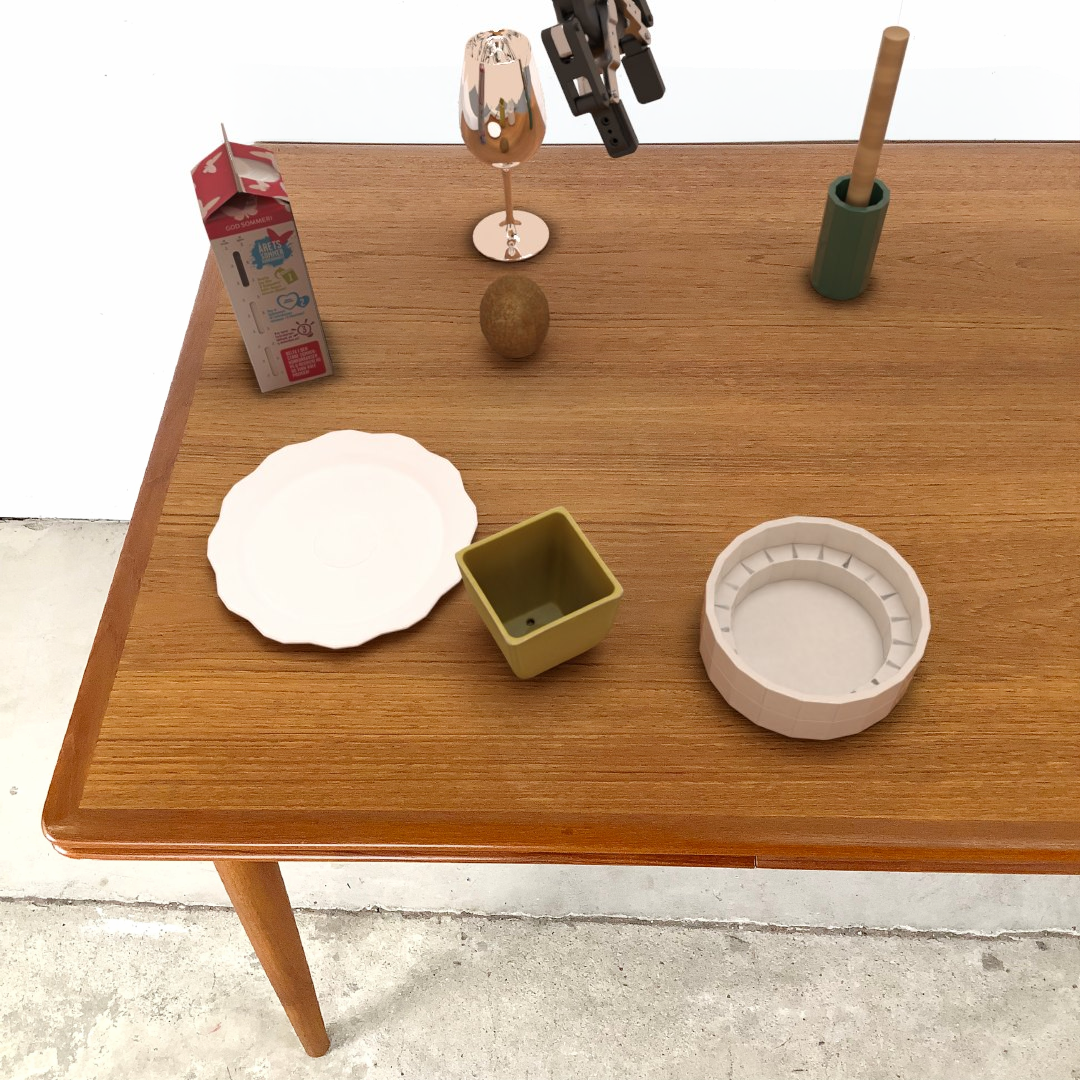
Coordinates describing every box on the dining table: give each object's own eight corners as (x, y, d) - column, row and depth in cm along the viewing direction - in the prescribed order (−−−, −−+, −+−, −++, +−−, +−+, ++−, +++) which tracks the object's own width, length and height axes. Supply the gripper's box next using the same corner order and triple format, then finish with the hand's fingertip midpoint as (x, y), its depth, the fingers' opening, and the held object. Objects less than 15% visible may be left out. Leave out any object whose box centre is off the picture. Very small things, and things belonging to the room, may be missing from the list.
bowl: (777, 530, 89) (788, 482, 84) (949, 639, 82) (972, 594, 77) (657, 657, 82) (661, 613, 77) (833, 785, 76) (849, 747, 71)
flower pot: (565, 572, 87) (563, 501, 80) (623, 658, 82) (626, 591, 75) (463, 620, 85) (451, 552, 77) (517, 711, 80) (509, 647, 73)
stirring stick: (830, 266, 106) (884, 22, 86) (851, 269, 105) (911, 24, 86) (827, 284, 104) (881, 40, 85) (848, 287, 104) (908, 43, 84)
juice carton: (319, 324, 104) (263, 113, 86) (334, 373, 100) (279, 163, 83) (248, 342, 103) (177, 132, 85) (261, 392, 99) (189, 184, 82)
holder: (830, 255, 107) (850, 165, 99) (877, 278, 105) (901, 189, 97) (799, 283, 105) (816, 194, 97) (846, 308, 103) (868, 219, 95)
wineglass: (543, 267, 108) (534, 75, 91) (463, 259, 109) (441, 68, 92) (556, 215, 112) (551, 23, 96) (480, 208, 113) (462, 18, 97)
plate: (179, 641, 85) (172, 630, 83) (257, 433, 97) (253, 420, 95) (450, 670, 82) (448, 659, 81) (496, 454, 94) (495, 440, 93)
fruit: (541, 319, 104) (538, 250, 97) (559, 366, 100) (557, 297, 93) (475, 333, 103) (467, 265, 96) (491, 381, 99) (484, 313, 93)
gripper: (567, -84, 67) (665, 158, 76) (625, -158, 76) (706, 67, 86) (464, -38, 71) (569, 187, 80) (531, -113, 80) (618, 97, 89)
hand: (640, 125), depth 83 cm, fingers open, 8 cm apart
